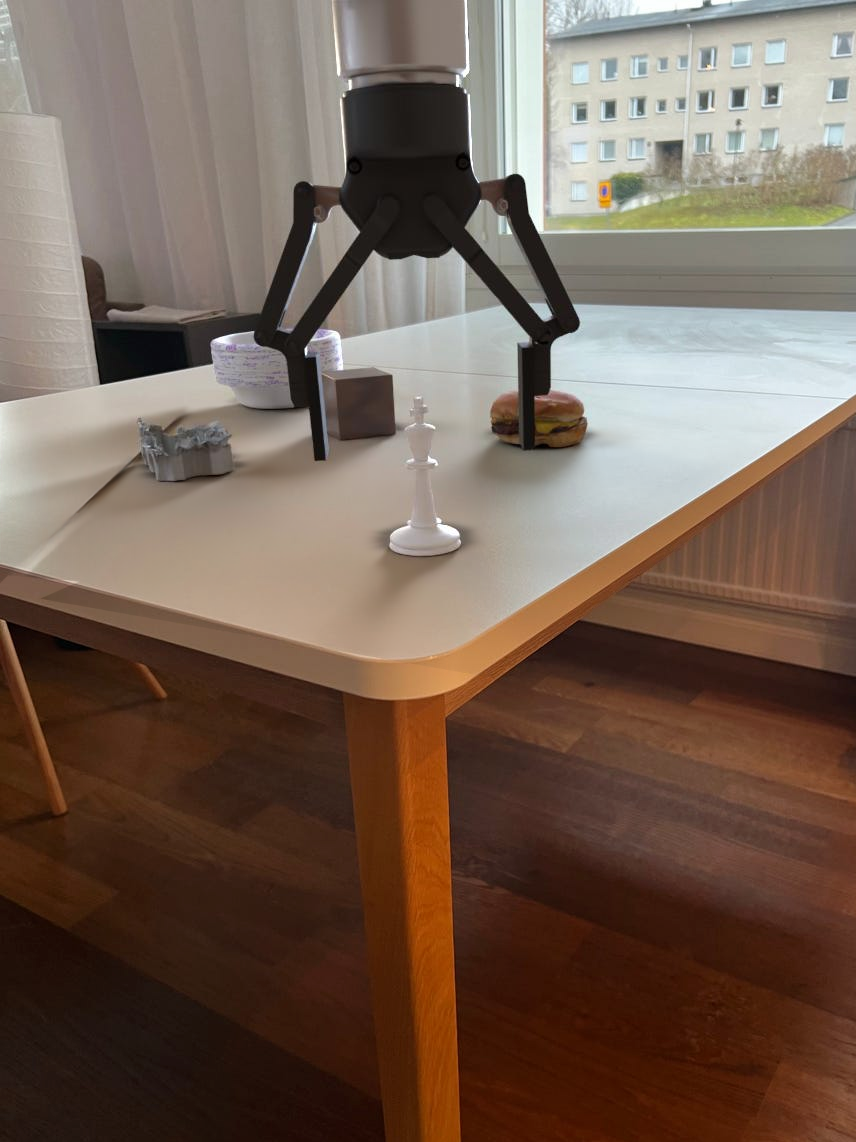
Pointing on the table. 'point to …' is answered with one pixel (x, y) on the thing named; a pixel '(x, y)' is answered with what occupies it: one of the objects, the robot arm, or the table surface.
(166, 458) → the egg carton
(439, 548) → the chess piece
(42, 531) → the table surface
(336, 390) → the walnut block
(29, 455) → the table surface
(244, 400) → the paper bowls
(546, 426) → the burger
